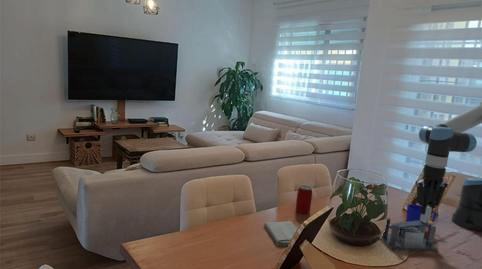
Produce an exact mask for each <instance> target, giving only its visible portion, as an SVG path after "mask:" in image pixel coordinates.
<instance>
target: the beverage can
mask: <svg viewBox="0 0 482 269" xmlns="http://www.w3.org/2000/svg"><path fill="white" fill-rule="evenodd" d="M296 194H297V196H296V204H295V211H296V212H298V213H300V214H308V213H310V212H311V206H312V199H313V190H312V187H311V186H308V185H300V186H299V188H298V189H297V193H296Z"/></svg>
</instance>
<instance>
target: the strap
mask: <svg viewBox="0 0 482 269" xmlns="http://www.w3.org/2000/svg"><path fill="white" fill-rule="evenodd" d="M393 224H397V225H399V227H398V229H399V228H408V227H417V226H425V225H431V226H434V225H435V221H434V222H432V220H431V219H430V220H429V223H427V222H426V223H424V222H422V221H421V220H418V221H409V222H406V221H404V222H403V221H400V222H393V223H392V222H390V223H387V226H388V227H389V230H392V225H393Z"/></svg>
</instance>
